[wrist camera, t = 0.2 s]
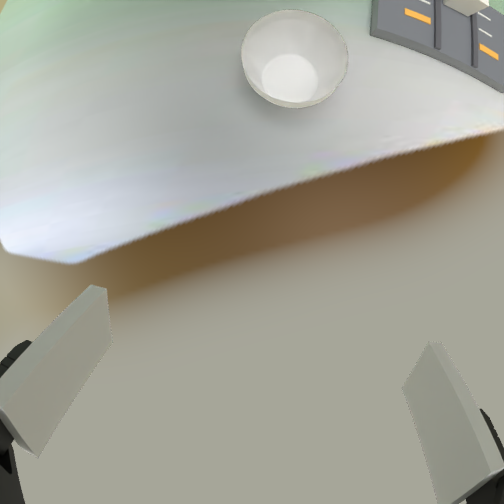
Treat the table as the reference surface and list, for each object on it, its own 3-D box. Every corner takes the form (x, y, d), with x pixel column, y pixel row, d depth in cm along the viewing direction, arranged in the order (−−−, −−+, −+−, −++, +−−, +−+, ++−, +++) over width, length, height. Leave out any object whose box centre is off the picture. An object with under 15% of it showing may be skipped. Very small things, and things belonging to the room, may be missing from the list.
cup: (343, 83, 31) (371, 61, 20) (289, 130, 34) (294, 127, 22) (289, 32, 29) (293, -9, 18) (235, 79, 32) (215, 54, 21)
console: (373, -37, 23) (380, -48, 19) (499, 23, 22) (512, 19, 19) (370, 35, 28) (378, 26, 24) (501, 92, 27) (515, 91, 24)
